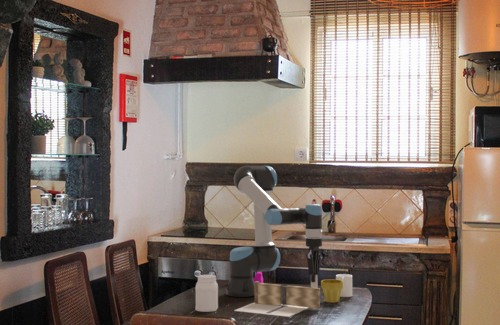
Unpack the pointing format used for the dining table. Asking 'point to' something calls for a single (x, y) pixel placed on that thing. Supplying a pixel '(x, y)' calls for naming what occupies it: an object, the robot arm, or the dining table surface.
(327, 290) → the plant pot
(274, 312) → the card
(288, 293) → the wooden board
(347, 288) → the cup
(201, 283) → the jar
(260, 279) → the toy block
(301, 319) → the dining table surface
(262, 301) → the fixed fence section
